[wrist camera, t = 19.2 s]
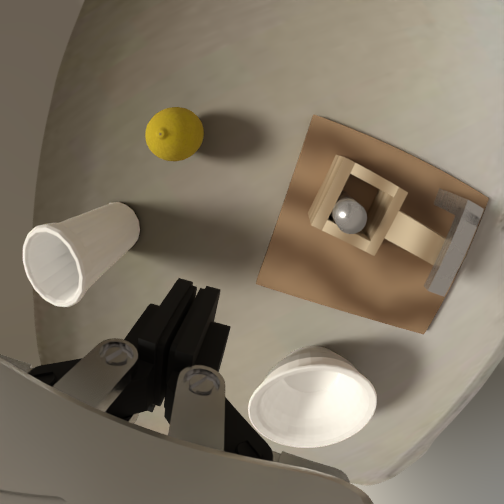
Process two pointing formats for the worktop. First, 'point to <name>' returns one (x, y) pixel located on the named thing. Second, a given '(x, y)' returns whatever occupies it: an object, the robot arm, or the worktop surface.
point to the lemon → (174, 134)
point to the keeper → (453, 240)
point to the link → (374, 214)
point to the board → (346, 255)
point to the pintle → (349, 214)
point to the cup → (78, 251)
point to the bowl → (312, 399)
